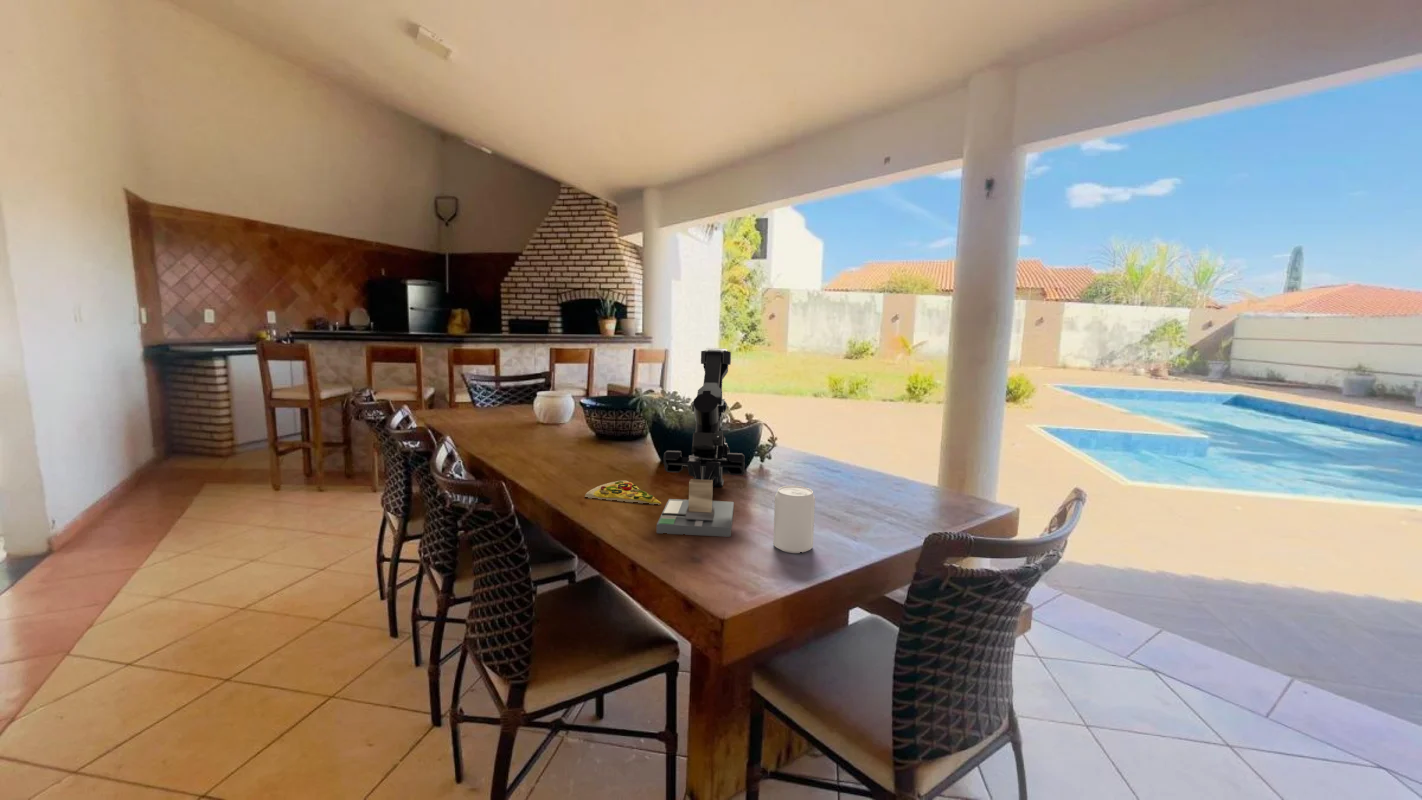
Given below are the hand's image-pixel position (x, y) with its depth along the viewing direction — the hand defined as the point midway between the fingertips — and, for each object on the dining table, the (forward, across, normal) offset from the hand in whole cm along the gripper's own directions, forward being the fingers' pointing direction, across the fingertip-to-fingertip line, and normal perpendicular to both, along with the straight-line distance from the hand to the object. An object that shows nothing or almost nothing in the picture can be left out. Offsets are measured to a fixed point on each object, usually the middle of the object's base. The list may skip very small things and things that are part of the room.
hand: (701, 495), depth 129 cm
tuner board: (+3, -1, +6) cm, 7 cm away
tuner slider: (+4, -3, +2) cm, 6 cm away
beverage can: (+13, +20, -2) cm, 24 cm away
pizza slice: (-7, -20, +18) cm, 28 cm away
